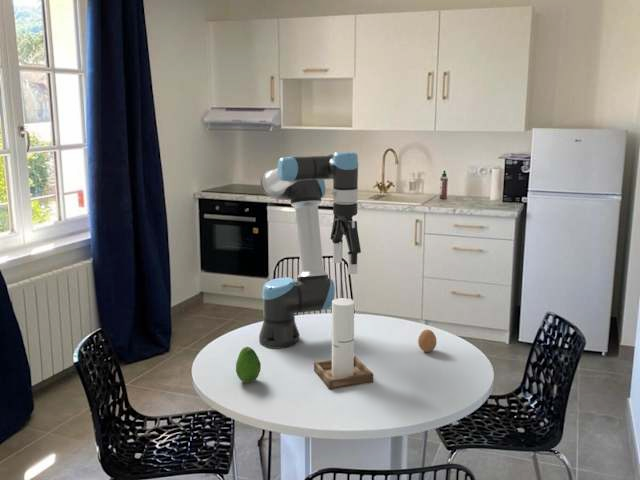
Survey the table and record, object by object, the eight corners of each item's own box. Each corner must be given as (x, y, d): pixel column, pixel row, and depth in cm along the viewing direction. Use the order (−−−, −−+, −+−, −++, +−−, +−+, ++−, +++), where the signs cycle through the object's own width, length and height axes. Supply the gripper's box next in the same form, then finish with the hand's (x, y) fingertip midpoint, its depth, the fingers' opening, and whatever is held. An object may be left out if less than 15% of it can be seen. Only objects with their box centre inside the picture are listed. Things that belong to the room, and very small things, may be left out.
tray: (314, 370, 217) (313, 362, 217) (355, 364, 222) (355, 356, 222) (329, 389, 204) (329, 380, 203) (373, 382, 209) (373, 373, 208)
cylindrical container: (351, 379, 209) (352, 305, 203) (330, 377, 210) (330, 304, 204) (355, 370, 216) (355, 298, 210) (333, 368, 217) (334, 297, 211)
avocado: (237, 388, 205) (235, 352, 202) (235, 377, 213) (234, 343, 210) (262, 385, 207) (261, 350, 204) (259, 375, 214) (258, 341, 211)
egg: (414, 350, 234) (414, 329, 232) (426, 346, 237) (427, 325, 236) (427, 356, 229) (427, 334, 227) (439, 352, 232) (440, 330, 230)
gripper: (320, 196, 211) (320, 259, 216) (348, 210, 188) (348, 280, 193) (342, 195, 214) (342, 257, 219) (372, 208, 191) (371, 277, 196)
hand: (344, 268), depth 206 cm, fingers open, 13 cm apart
